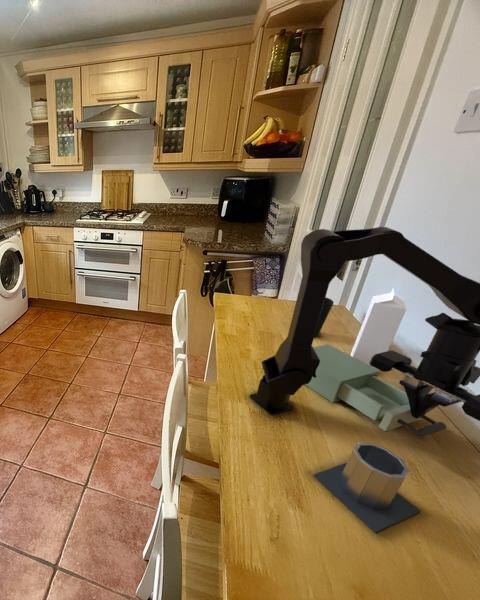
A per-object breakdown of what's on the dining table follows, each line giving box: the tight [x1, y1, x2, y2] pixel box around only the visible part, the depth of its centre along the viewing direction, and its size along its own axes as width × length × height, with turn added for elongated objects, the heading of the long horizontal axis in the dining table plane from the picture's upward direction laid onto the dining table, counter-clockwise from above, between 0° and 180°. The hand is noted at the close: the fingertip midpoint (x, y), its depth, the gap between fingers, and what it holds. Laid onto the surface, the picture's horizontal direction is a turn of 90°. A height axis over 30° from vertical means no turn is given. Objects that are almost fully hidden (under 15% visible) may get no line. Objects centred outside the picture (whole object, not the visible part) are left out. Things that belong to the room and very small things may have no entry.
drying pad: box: [313, 462, 421, 534], centre depth 53 cm, size 10×10×1 cm
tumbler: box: [339, 442, 410, 510], centre depth 52 cm, size 6×7×8 cm
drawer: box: [337, 375, 447, 439], centre depth 68 cm, size 16×11×4 cm
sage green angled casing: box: [304, 343, 381, 404], centre depth 80 cm, size 13×13×6 cm
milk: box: [349, 287, 407, 371], centre depth 82 cm, size 6×6×22 cm
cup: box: [314, 296, 335, 338], centre depth 101 cm, size 8×8×12 cm
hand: (415, 417), depth 64 cm, fingers closed
